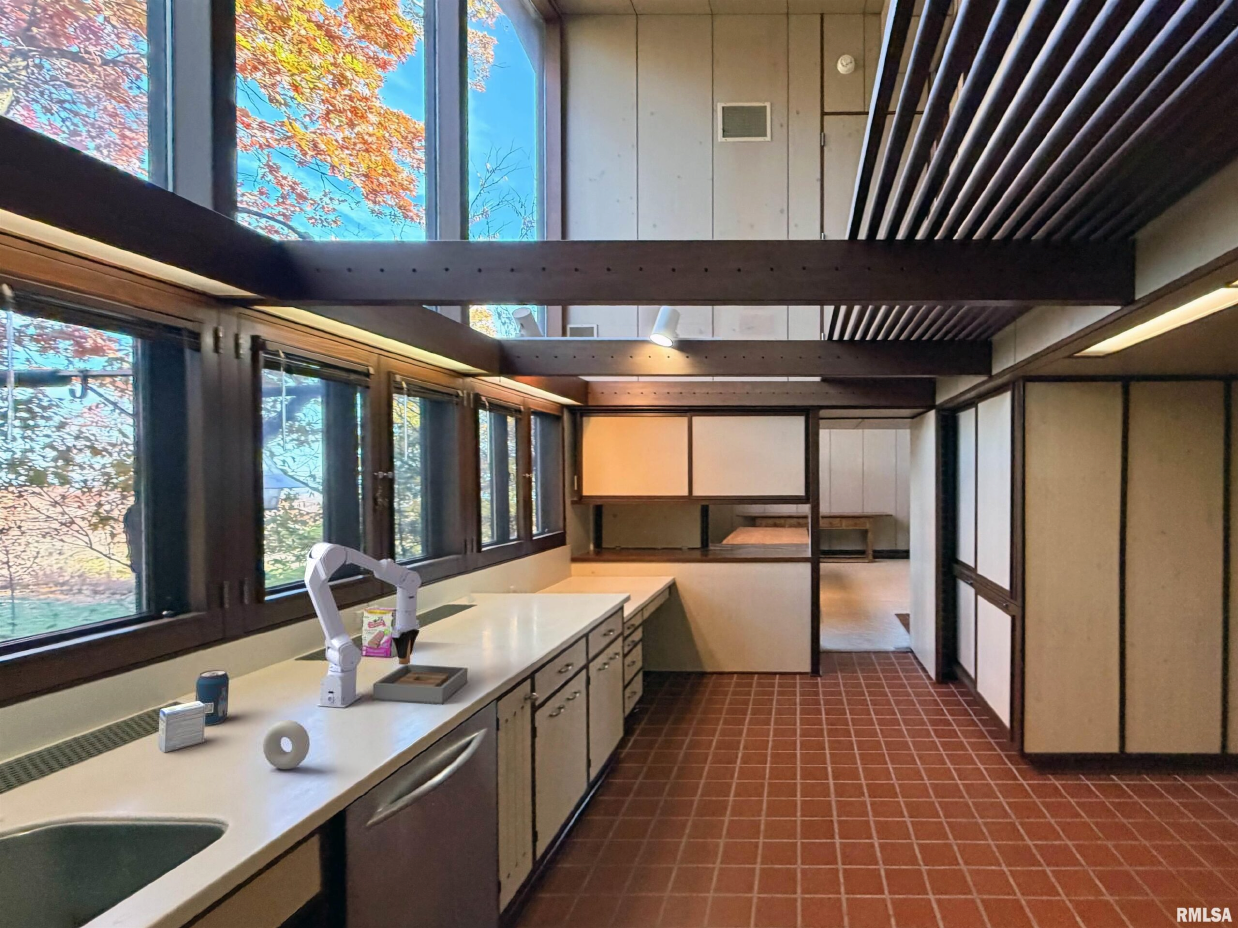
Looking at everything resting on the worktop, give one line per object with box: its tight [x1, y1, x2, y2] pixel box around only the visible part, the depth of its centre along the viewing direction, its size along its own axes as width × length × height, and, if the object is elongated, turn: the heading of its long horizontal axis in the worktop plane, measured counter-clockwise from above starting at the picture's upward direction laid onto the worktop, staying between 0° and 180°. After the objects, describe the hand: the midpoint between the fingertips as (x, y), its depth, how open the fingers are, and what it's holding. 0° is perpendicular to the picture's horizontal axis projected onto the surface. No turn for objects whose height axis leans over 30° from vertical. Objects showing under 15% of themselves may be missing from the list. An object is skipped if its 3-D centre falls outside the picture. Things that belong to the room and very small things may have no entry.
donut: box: [262, 719, 311, 770], centre depth 135 cm, size 10×4×10 cm, turn 82°
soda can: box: [194, 669, 230, 726], centre depth 160 cm, size 7×7×12 cm
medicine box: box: [157, 701, 206, 753], centre depth 146 cm, size 8×4×9 cm, turn 141°
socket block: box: [394, 671, 450, 687], centre depth 187 cm, size 12×12×3 cm
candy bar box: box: [360, 606, 398, 659], centre depth 223 cm, size 11×5×16 cm, turn 84°
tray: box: [372, 663, 469, 705], centre depth 187 cm, size 20×20×4 cm
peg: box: [398, 641, 411, 666], centre depth 191 cm, size 3×3×7 cm
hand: (404, 656), depth 191 cm, fingers closed on peg, 3 cm apart
